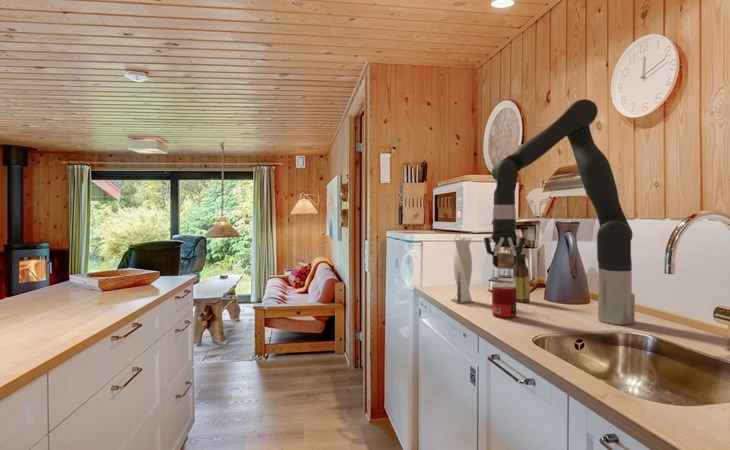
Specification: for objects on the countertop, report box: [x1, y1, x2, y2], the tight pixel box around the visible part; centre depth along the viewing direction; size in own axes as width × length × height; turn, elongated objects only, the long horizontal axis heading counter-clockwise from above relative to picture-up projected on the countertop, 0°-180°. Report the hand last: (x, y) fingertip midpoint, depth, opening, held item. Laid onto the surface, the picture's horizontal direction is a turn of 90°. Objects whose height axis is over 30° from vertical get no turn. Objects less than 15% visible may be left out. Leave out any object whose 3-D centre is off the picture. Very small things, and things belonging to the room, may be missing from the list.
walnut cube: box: [495, 252, 515, 270], centre depth 135 cm, size 5×5×5 cm
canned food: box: [491, 282, 517, 320], centre depth 135 cm, size 8×8×11 cm
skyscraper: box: [449, 233, 475, 305], centre depth 159 cm, size 8×8×28 cm
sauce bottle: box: [512, 252, 531, 304], centre depth 158 cm, size 7×6×20 cm
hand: (504, 266), depth 135 cm, fingers closed on walnut cube, 5 cm apart
